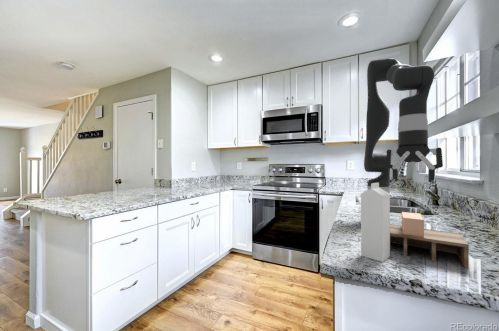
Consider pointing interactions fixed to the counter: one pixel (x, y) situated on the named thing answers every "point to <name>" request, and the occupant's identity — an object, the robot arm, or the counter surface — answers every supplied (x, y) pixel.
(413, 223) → the block
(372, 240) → the milk
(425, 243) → the wooden bench
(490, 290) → the counter surface
